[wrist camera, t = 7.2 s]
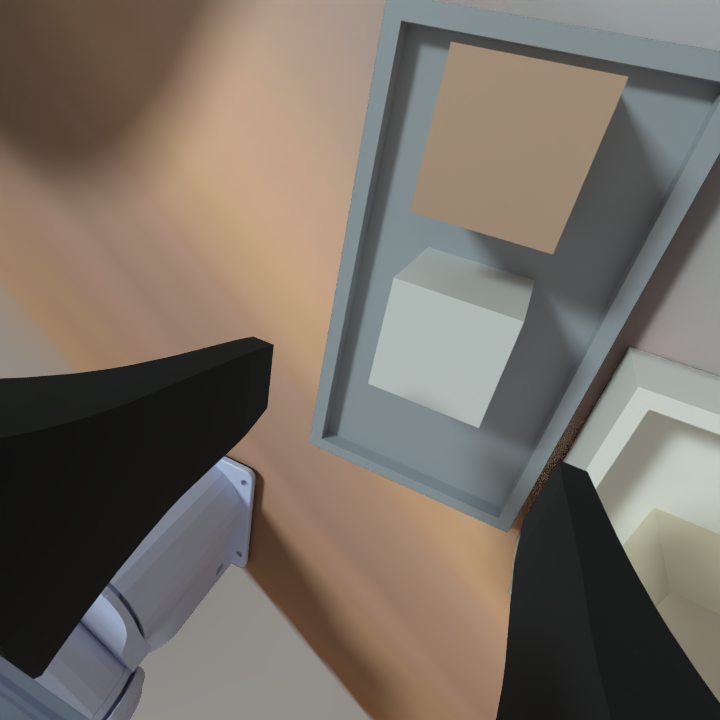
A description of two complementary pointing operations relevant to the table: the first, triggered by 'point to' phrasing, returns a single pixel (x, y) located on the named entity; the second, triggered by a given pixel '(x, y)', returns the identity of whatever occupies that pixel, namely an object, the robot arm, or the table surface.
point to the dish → (653, 444)
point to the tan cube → (512, 143)
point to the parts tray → (508, 250)
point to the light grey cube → (449, 333)
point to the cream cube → (682, 585)
